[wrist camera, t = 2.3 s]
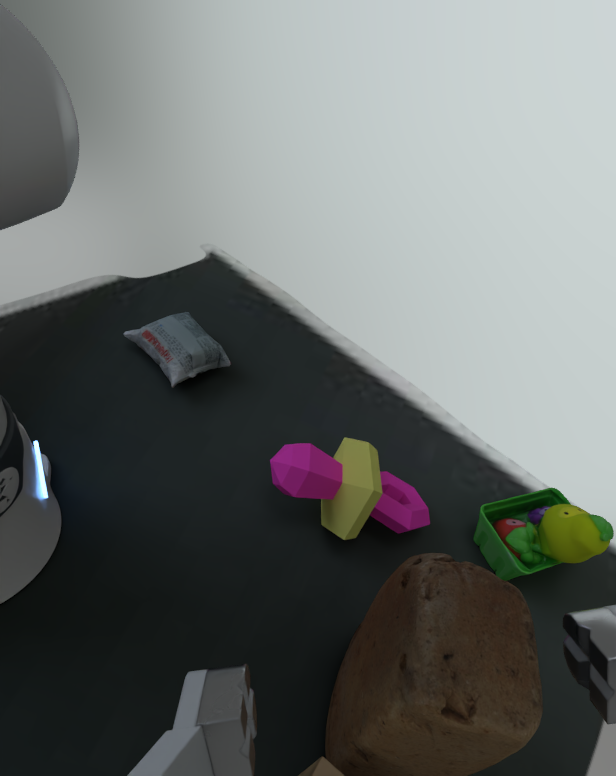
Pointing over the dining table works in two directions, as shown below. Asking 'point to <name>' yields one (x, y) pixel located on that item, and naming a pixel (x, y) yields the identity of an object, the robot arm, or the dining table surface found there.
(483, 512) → the fruit basket
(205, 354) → the packaged food
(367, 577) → the dining table surface
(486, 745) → the block
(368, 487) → the toy
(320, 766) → the maple block
